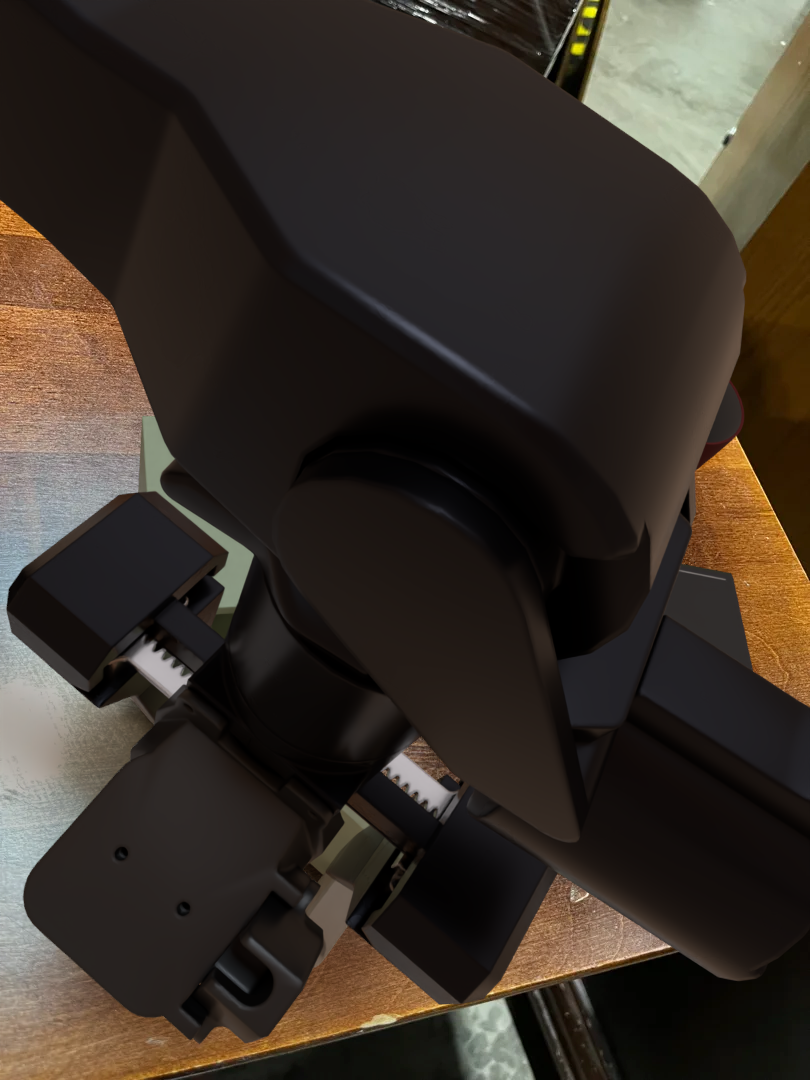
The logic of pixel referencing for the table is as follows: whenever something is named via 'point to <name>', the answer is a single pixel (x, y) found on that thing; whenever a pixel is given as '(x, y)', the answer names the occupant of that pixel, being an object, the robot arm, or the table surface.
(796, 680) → the table surface
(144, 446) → the cupboard
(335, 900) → the door
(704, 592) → the book
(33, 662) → the table surface
